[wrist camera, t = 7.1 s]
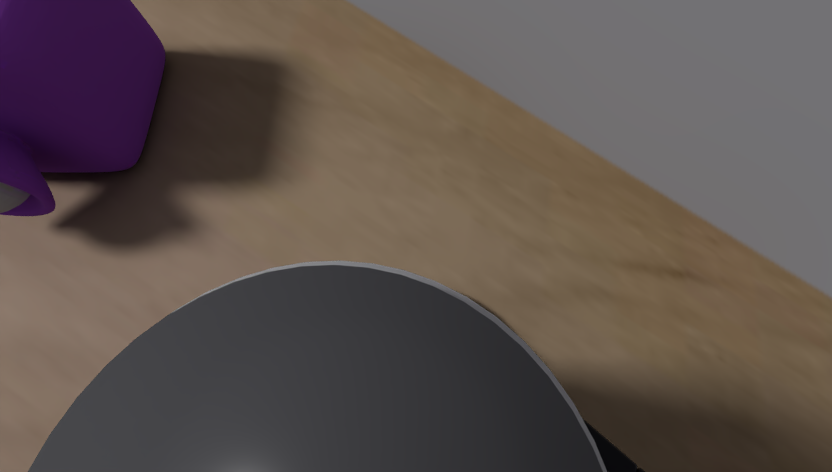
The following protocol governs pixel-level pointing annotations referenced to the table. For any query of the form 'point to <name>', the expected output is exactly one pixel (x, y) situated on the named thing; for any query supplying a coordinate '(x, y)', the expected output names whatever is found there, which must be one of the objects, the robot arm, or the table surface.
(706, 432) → the table surface
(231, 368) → the grey domed cylinder
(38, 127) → the toy camera
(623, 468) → the robot arm
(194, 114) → the table surface
